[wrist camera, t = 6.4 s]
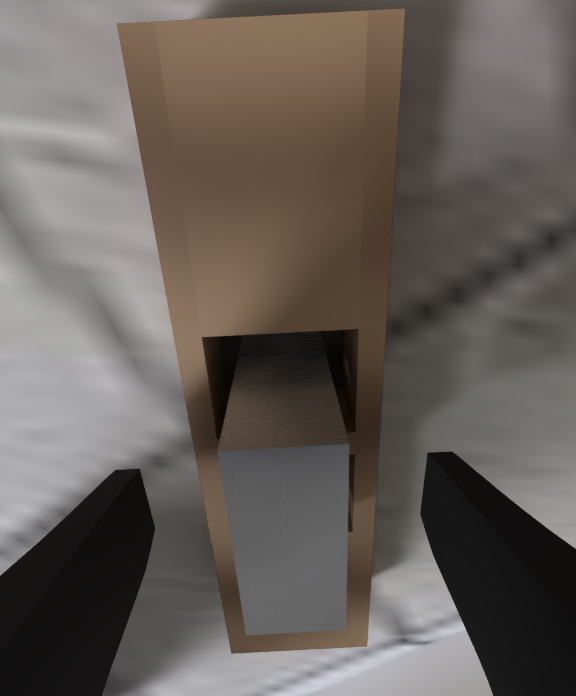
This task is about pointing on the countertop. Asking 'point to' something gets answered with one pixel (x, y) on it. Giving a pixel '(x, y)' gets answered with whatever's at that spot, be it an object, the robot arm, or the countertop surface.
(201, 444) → the rail
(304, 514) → the brushed metal block
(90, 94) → the countertop surface
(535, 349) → the countertop surface
